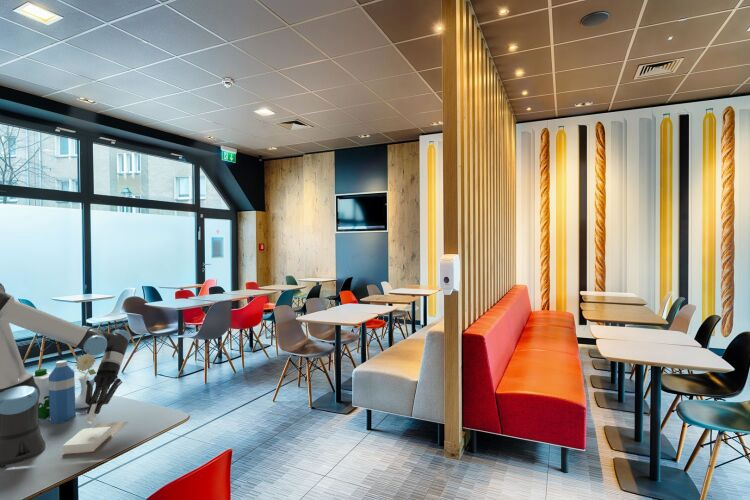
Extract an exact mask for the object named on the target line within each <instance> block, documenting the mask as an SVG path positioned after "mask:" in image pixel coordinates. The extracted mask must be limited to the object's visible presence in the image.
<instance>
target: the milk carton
mask: <svg viewBox="0 0 750 500" xmlns="http://www.w3.org/2000/svg"><path fill="white" fill-rule="evenodd" d="M51 372H52V371H48V370H47V368H40V369H37V370H34V375H33V378H34V380H35V383H36V384H37V386H38V387H39V389H40V397H39V403H38V419H42V420H45V419H48V418H50V406H49V375H50V374H51Z"/></svg>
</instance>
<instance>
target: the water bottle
mask: <svg viewBox="0 0 750 500" xmlns="http://www.w3.org/2000/svg"><path fill="white" fill-rule="evenodd" d="M50 372H51V374H50V375H49V406H50V417H49V423H50V424H60V423H65V422H68V421H69V420H71V419H72V418H74V417H76V414H77V413H76V409H75V398H76V385H75V383H76V382H75V381H76V380H75V379H76V378H75V370H74V369H73V368H71V367H70V365H68V360H66V359H65V360H58V361H56V362H55V367H54V368H53V369H52V371H50Z"/></svg>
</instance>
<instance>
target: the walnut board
mask: <svg viewBox="0 0 750 500" xmlns="http://www.w3.org/2000/svg"><path fill="white" fill-rule="evenodd" d="M128 423H129V421H116V422H99V423H96V424H95V425H94V426H93V427H92V428H100V427H111V435H110V436H109V437H108V438H107V439H106V440H105V441H104V442H103V443H102V444H101V445H100V446H99V447H98V448H97V449H96V450H95V451H94V452H86V453H74V454H73V455H81V454H95V453H96V452H97V451H98V450H99V449H100V448H101V447H103V445H104V444H106V443H107V442H108V441H109V440H110V439H111V438H112V437H113V436H115V434H116V433H118V432H119V431H120V430H121V429H122V428H123V427H124V426H125V425H127V424H128ZM66 455H67V456H68V455H70V454H63V451H61V452H60V453H59V454H58V456H66Z"/></svg>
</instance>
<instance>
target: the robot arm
mask: <svg viewBox="0 0 750 500" xmlns="http://www.w3.org/2000/svg"><path fill="white" fill-rule="evenodd" d="M10 324H11V325H14V326H17V327H19V328H22V329H25V330H28V331H30V332H33V333H35V334H39V335H42V336H44V337H46V338H50V339H52V340H54V341H57V342H60V343H63V344H66V345H69V346H70V347H74V348H76V349H79V350H81V351H84V352H85V353H86V354H90V355H93V356H98V355H101V354H103V355H102V358H101V359H100V360H101V361H100V363H99V366H98V369H97V371H96V374H95V375H94V376H93V378H92V379H91V380H89V379H88V380H87V381H86V384H87V391H86V400H85V402H86V404H87V405H89V407H87V411H86V414H88V415H87V417H86V421H85V422H86V423H87V424H90V425H92V424H94V422H95V419H96V418H97V415H99V414H100V412H101V409H102V406H104V405H108V404H109V403H110V401H111V400H112V397H113V396H114V395H115V393H116V391H117V389H118V388H119V387H120V386H121V384H123V380H121V378H119V377H118V375H119V372H120V369H121V366H122V363H123V361H124V357H125V354H126V352H127V349H128V347H129V345H130V339H131V333H129V331H127V330H125V329H116V330H113V331H112V332H108V331H105V330H102V329H98V328H95V327H92V326H86V325H82V326H80V325H78V324H75V323H74V322H70V321H68V320H66V319H62V318H61V317H58V316H55V315H53V314H50V313H48V312H46V311H43V310H41V309H37V308H36V307H33V306H30V305H28V304H25V303H23V302H22V301H21V302H20V301H18V300H16V299H15V297H14V295H11V294H10V293H8V292H7V293H6V288H5V287H4V285H3V284H2V283H1V282H0V468H5V467H6V466H8V465H14V464H17V463H20V462H24V461H27V460H30V459H31V458H34V457H37V456H38V455H39V454H41V453H42V452H44V450H46V441H45V439H44V437H43V436H42V433H41V431H40V428H39V427H40V426H39V423H40V422H39V419H40V418H38V403H39V397H40V389H39V387H38V386H37V384H36V383H35V380H34V378H33V376H34V375H33V373H31V372H27V370H26V368H25V365H24V362H23V359H22V357H21V353H20V351H19V348H18V345H17V342H16V340H15V336H14V334H13V331H12V328H11V325H10ZM94 386H95V388H94ZM93 390H94V391H93ZM92 394H93V396H92ZM98 398H99V399H98ZM97 400H98V401H97Z"/></svg>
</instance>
